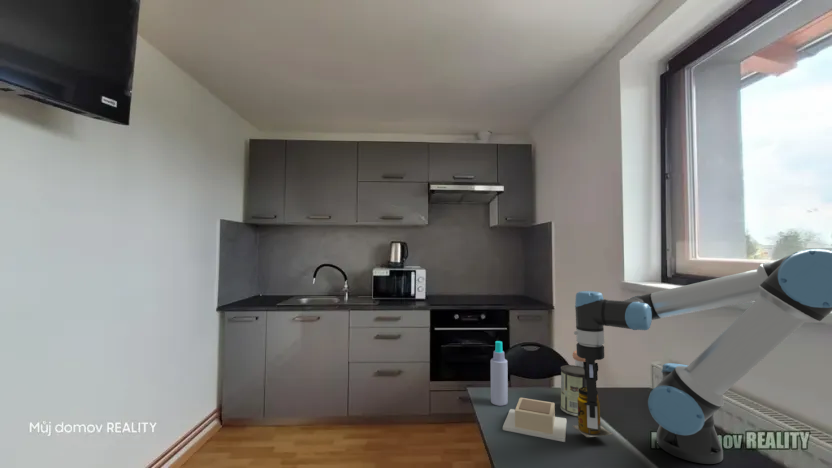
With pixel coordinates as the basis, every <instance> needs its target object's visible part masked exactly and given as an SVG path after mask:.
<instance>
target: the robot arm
mask: <svg viewBox="0 0 832 468" xmlns="http://www.w3.org/2000/svg"><path fill="white" fill-rule="evenodd" d="M752 302H753V303H752ZM746 303H751V304H750V305H749V307H748V308H747V309H745V310H744V311H743V313H741V314H740V315H739V316H738V317H737V318H736V319H735V320H734V321H733V322H732V323H731V324H729V326H728V327H727V328H726V329H724V331H722V332H721V334H720V335H718V336H717V337H716V338H715V339H714V340H713V341H712V342H711V343H710V344H709V345H708V346H707V347H706V348H705V349H704V350H703V351H702V352H701V353H700V354H699V355H698V356H697V357H695V359H693V361H692V362H691V363H689V364H687V365H686V364H682V363H672V362H670V363H669V362H667V363H664V364H663V365H662V369H661V373H662V378H661V379H662V380H661V381H660V382H658V384H657V385H656V387H654V388H653V389H651V391H650V393H649V396H648V399H647V406H648V410H649V413H650V415H651V417H652V418H653V419H654V421H655V422H656V423H657V424H658V425H659V426H658V429H657V431H656V443H657V442H658V444H657V445H658V447H659V448H661V449H662V451H664V452H666V453H667V454H670V455H671V456H674V457H676V458H679V459H681V460H685V461H688V462H693V463H696V464H705V465H715V464H719V463H721V462H722V461H723V460H724V450H723V447H722V443H721V441H720V439H719V436H718V434H717V431H716V429H715V428H716V427H715V417H714V416H715V415H714V414H715V413H717V412H718V410H720V409H721V408H722V407H723V406H724V405H725V402H724V397H723V395H724V394H725V393H726V392H727V391H729V389H731V388H732V387H733V386H734V385H735V384H737V383H738V382H739V381H740V380H741V379H742V378H743V377H744V376H746V375H747V374H748V373H749V372H750V371H751V370H753V369H754V368H755V367H756V366H757V365H758V364H759V363H760V362H762V361H763V360H764V359H765V358H766V357H767V356H768V355H769V354H770V353H772V352H773V351H774V350H775V349H776V348H777V347H778V346H779V345H781V344H782V343H784V341H785V340H786V339H788V338H789V337H790V336H791V335H793V333H794V332H796V330H798V329H799V328H800V327H801V326H802V325H804V324H806V323H820V322H821V321H822V320H823V319H824V318H825V317H827V316H828V315H829V314H830V313H831V312H832V249H831V250H830V249H827V248H820V247H819V248H806V249H801V250H798V251H796V252H793V253H791V254H789V255H786V256H784V257H781V258H779V259H775V260H772V261H768V262H765V263H760V264H759V266H758V268H756V269H751V270H747V271H743V272H739V273H734V274H730V275H729V274H728V275H725V276H721V277H717V278H713V279H709V280H703V281H700V282H699V281H698V282H695V283H691V284H687V285H682V286H677V287H674V288H669V289H664V290H660V291H655V292H652V293H647V294H643V295H636V296H632V297H630V298H627V299H624V300H613V299H612V300H609V299H606V298H604V296H603V293H602V292H599V291H593V290H585V291H584V290H582V291H578V292H576V294H575V305H574V308H575V309H574V310H575V325H576V326H575V328H576V330H575V331H574V332H573V335H576V337H575V338H576V342H577V343H576V345H575V347H576V350H577V356H578V357H580V358H584V359H585V361H586V362H583V367H584V372H585V379H586V386H587V403H585V402H584V403H585V405H587V428H593V429H598V418H597V405H598V404H597V391H598V390H597V381H598V379H599V378H598V377H599V376H598V373H599V372H598V371H599V364H598V362H596V361H597V360H598V361H601V360H604V358H605V346H604V344H605V331H604V330H605V329H604V328H605V327H613V328H614V327H615V328H621V329H629V330H633V331H648V330H649V329H650V328H651V325H652V321H654V320H659V319H663V318H664V319H665V318H668V317H669V318H670V317H675V316H680V315H686V314H690V313H697V312H703V311H707V310H713V309H719V308H725V307H730V306H735V305H739V304H740V305H741V304H746ZM604 326H605V327H604Z"/></svg>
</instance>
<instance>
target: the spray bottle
mask: <svg viewBox="0 0 832 468" xmlns="http://www.w3.org/2000/svg"><path fill="white" fill-rule="evenodd" d="M494 343H495V346H494V347H495V350H493V353H492V354H493V357H492V358H491V359H490V403H491V404H493V405H495V406H498V407H504V406H506V405H508V402H509V401H508V400H509V398H508V397H509V396H508V395H509V394H508V393H509V392H508V390H509V389H508V387H509V386H508V382H509V381H508V380H509V379H508V371H509V370H508V359H506V358H505V351H504V350H503V341H501V340H496V341H495V342H494Z"/></svg>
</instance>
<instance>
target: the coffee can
mask: <svg viewBox="0 0 832 468" xmlns="http://www.w3.org/2000/svg"><path fill="white" fill-rule="evenodd" d="M560 371H561V372H560V375H561V376H560V409H561V411H563V412H564V413H566V414H568V415H571V416H574V417H578V397H579V388H581V387H587V386H586V379H585V372H584V367H581V366H575V364H574V365H573V364H566V365H562V366H560Z"/></svg>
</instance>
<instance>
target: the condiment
mask: <svg viewBox="0 0 832 468" xmlns="http://www.w3.org/2000/svg"><path fill="white" fill-rule="evenodd" d="M584 402H585V403H587V387H581V388H579V397H578V416H577V425H572V427H573V428H574V429H576V430H577V431H578V432H579V433H580V434H582V435H584V436H585V437H586V438H594V437H596V438H597V437H601V436H610V435H613V432H611V431H609V430H607V429H606V428H604V427H603V426H602V425H601V403H600V402H601V401H600V399H599V392H598V390H597V404H598V405H597V418H598V429H593V428H587V405H585V403H584Z"/></svg>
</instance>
